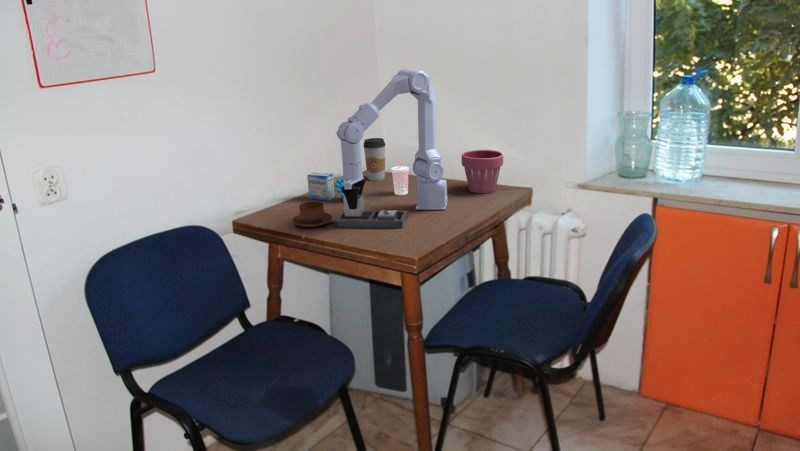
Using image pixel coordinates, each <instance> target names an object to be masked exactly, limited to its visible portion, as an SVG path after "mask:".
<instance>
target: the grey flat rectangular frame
mask: <svg viewBox="0 0 800 451" xmlns="http://www.w3.org/2000/svg"><path fill="white" fill-rule="evenodd" d="M380 211H381V210H364V213H363V214H362V215H361V216H345V214H344V210H343V211H342V212H341V213H340V214H339V215H338V216H337V218H336V219H335V220H334V227H335V228H336V229H337V228H338V229H339V228H346V229H347V228H349V229H350V228H353V229H354V228H355V229H357V228H358V229H359V228H362V229H364V228H366V229H372V228H373V229H374V228H375V229H377V228H378V229H384V228H385V229H403V227H404V225H405V224H406V221H407V220H408V218H409V214H408V213H409V211H408V210H397V219H399V220H397V221H378V220H376V219H378V214H379V212H380ZM348 218H350V219H351V220H349V219H348ZM353 218H354V219H357V218H359V219H362V218H363V219H365V218H366V219H367V220H352V219H353ZM345 219H346V220H345Z"/></svg>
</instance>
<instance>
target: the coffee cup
mask: <svg viewBox="0 0 800 451" xmlns="http://www.w3.org/2000/svg"><path fill="white" fill-rule="evenodd" d="M363 141H364V142H363V146H362V147H363V151H364V158H365V159H364V161H365V168H366V173H367V179H368V181H372V182H376V181H377V182H379V181H383V180H385V176H386V155H385V154H386V142H385V139H384V138H383V137H382V138H381V137H371V138H366V139H364V140H363Z"/></svg>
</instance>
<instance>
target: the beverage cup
mask: <svg viewBox="0 0 800 451" xmlns="http://www.w3.org/2000/svg"><path fill="white" fill-rule="evenodd" d="M390 170H391V172H392V182H393V191H394V195H398V196H405V195H407V194H408V193H409V170H410V167H409V166H406V165H405V166H404V165H401V153H398V165H397V166H393V167H391V168H390Z"/></svg>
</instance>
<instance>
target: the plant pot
mask: <svg viewBox="0 0 800 451" xmlns="http://www.w3.org/2000/svg"><path fill="white" fill-rule="evenodd" d="M503 165H504V153H503V152H501V151H498V150H494V149H474V150H473V149H472V150H467V151H464V152H462V153H461V166H462V167H463V168H464V173H465V177H466V181H467V185H468V190H469V191H470V192H471V193H474V194H489V193H493V192H494V191H496V190H497V184H498V180H499V176H500V170H501V167H502V166H503Z"/></svg>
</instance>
